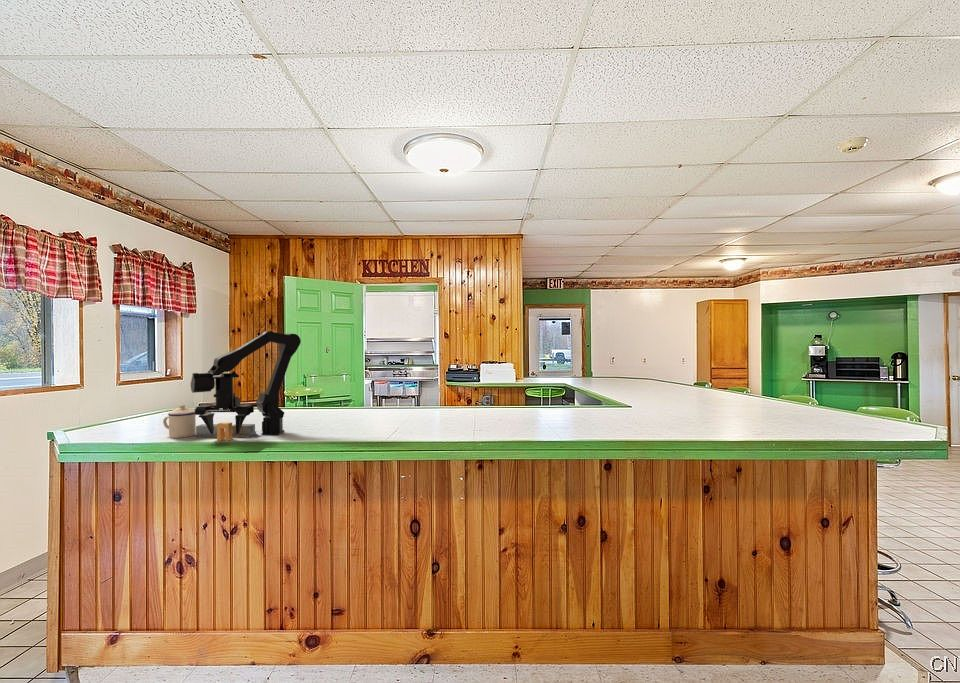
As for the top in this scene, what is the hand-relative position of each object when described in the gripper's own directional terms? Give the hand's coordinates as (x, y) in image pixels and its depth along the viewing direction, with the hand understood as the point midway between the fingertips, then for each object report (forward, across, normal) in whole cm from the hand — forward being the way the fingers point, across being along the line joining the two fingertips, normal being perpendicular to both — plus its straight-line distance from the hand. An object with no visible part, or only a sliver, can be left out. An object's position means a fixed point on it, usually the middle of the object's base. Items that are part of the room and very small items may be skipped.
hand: (225, 433), depth 181 cm
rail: (+2, +3, -7) cm, 8 cm away
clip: (+2, 0, 0) cm, 2 cm away
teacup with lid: (+2, +21, -8) cm, 23 cm away
